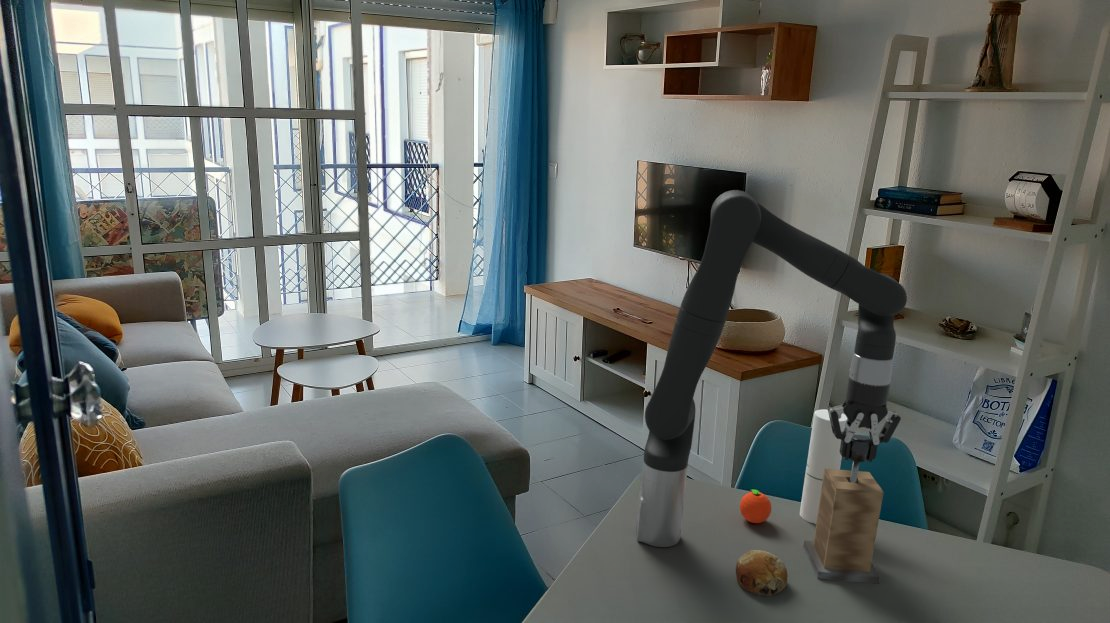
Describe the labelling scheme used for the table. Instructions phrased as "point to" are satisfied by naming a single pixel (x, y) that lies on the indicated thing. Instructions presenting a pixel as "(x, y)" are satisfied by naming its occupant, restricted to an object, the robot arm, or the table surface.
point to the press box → (846, 527)
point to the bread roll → (761, 573)
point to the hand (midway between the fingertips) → (856, 458)
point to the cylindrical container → (819, 462)
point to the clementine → (755, 507)
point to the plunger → (858, 453)
